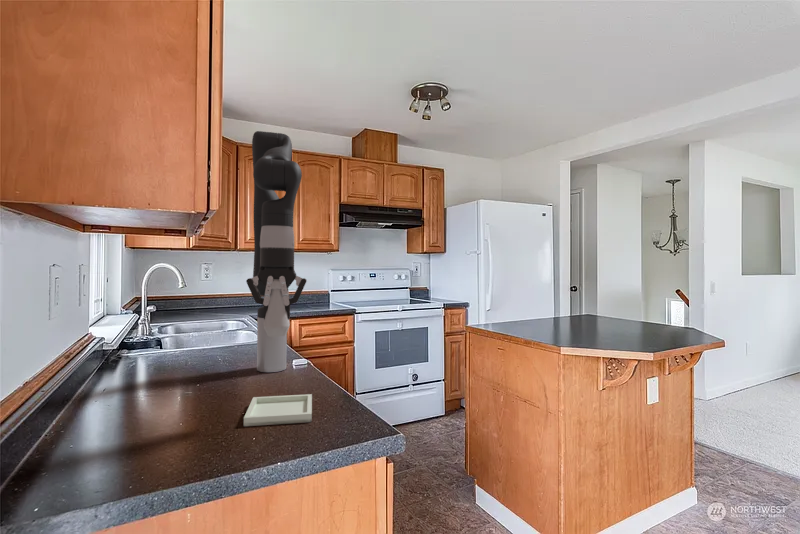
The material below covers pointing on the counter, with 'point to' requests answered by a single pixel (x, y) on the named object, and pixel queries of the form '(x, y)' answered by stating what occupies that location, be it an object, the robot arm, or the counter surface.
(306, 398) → the tray
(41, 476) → the counter surface
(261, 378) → the counter surface
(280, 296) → the salt shaker
